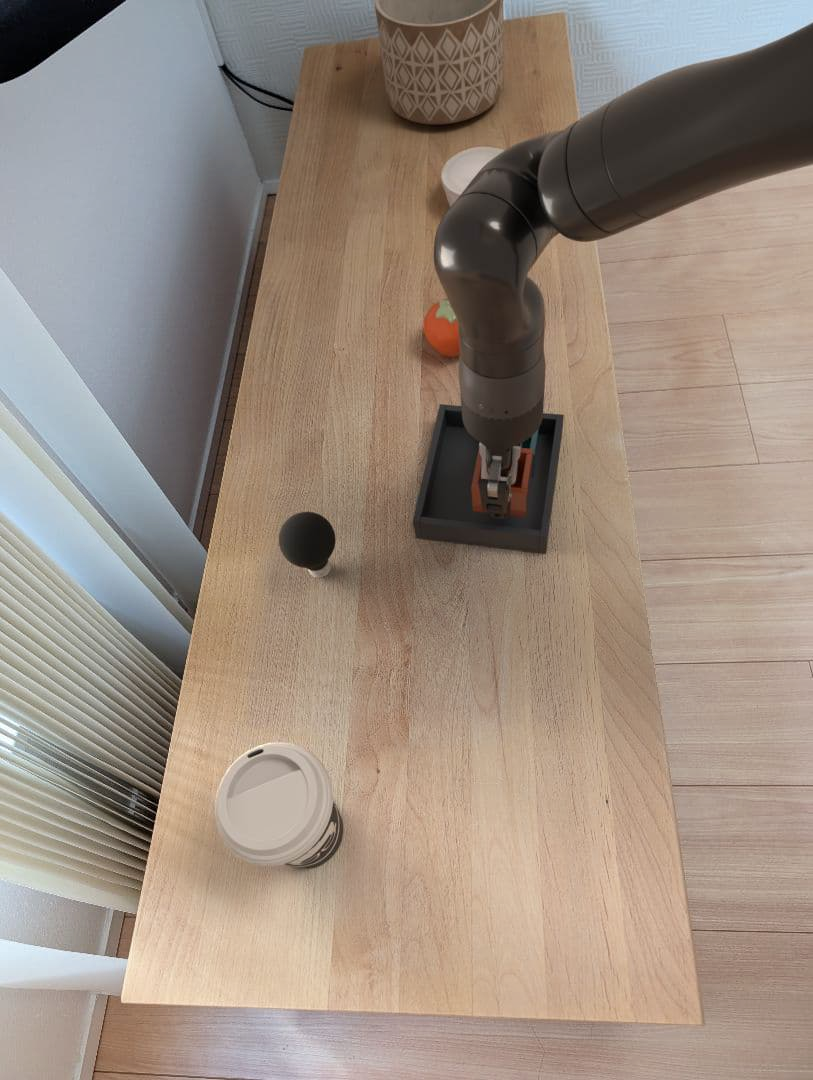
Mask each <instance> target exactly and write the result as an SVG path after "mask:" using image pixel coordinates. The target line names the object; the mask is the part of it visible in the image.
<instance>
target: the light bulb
mask: <svg viewBox="0 0 813 1080" xmlns="http://www.w3.org/2000/svg"><path fill="white" fill-rule="evenodd" d="M278 534H279V535H278V546H279V550H280V552H281V555H283V557H284V558H285V559H286V561H288V562H289V563H290V564H292V565H294V566H296V567H299V568H303V569H305V568H306V569H307V571H308V573H309V575H311V576H312V577H313V578H317V579H319V578H323V577H325V576H327V575H328V574H329V573H330V570H331V563H330V560H329V559H330V557H331V556H332V554H333V553H334V550H335V548H336V541H337V540H336V532H335V530H334V528H333V525H332V523H331V522H330V521H329V520H328V519H327V518H326V517H324V516H323V515H321V514H319V513H317V512H313V511H302V512H297V513H295V514H292V515H291V516H289V518H287V519H286V520H285V521H284V523H283V525H282V526H281V528H280V531H279V533H278Z"/></svg>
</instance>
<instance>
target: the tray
mask: <svg viewBox="0 0 813 1080" xmlns="http://www.w3.org/2000/svg"><path fill="white" fill-rule="evenodd" d="M436 414H437V415H436V419H435V423H434V427H433V432H432V435H431V441H430V444H429V445H430V446H429V448H428V454H427V458H426V461H425V467H424V469H423V473H422V474H423V475H422V480H421V483H420V486H419V487H420V488H419V491H418V497H417V499H416V503H415V504H416V505H415V509H414V513H413V519H412V525H413V531H414V535H415V538H416V539H420V540H428V541H437V542H444V543H445V542H446V543H455V544H462V545H470V546H476V547H477V546H479V547H487V548H494V549H505V550H510V551H511V550H512V551H520V552H528V553H535V554H536V553H537V554H543V555H545V554H547V550H548V544H549V543H548V542H549V535H550V527H551V520H552V512H553V506H554V505H553V504H554V499H555V498H554V497H555V490H556V483H557V475H558V467H559V460H560V453H561V446H562V445H561V444H562V438H563V429H564V420H565V419H564V418H565V414H562V413H561V414H560V413H548V412H543V419H542V422H541V425H540V436H539V445H538V451H537V457H536V464H535V470H534V476H533V478H531V485H530V491H529V498H528V505H527V511H526V517H522V516H513V515H509V517H507V518H505V519H503V518H494V517H491V516H490V515H489V514H488V513H486V512H477V511H473V502H472V489H471V487H472V482H473V477H474V471H475V466H476V461H477V456H478V451H479V446H480V442H479V441H477V440H476V439H475V438H473V437H472V436H471V435H470V434H469V432H468V431H467V430H466V428H465V426H464V423H463V419H462V408H461V405H455V404H454V405H453V404H442V403H439V405H438V410H437V413H436Z"/></svg>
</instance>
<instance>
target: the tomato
mask: <svg viewBox="0 0 813 1080" xmlns="http://www.w3.org/2000/svg"><path fill="white" fill-rule="evenodd" d="M423 332H424V335H425V338H426V340H427V342H428V344H429V345H430V347H431V348H432V349H433V350H434V351H435V352H437V353H438V354H440V355H441V356H443V357H448V358H456V357H459V356H460V345H459V332H458V319H457V317H456V315H455V313H454V311H453V309H452V307H451V305H450V303H449V300H448V298H444V299H441V300H439V301H437V302H436V303H434V304H433V305H431V306H430V307H429V308H428V310H427V312H426V314H425V316H424V317H423Z"/></svg>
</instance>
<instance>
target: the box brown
mask: <svg viewBox="0 0 813 1080" xmlns="http://www.w3.org/2000/svg"><path fill="white" fill-rule="evenodd" d="M479 451H480V446H479ZM479 451H478V456H477V461H476V466H475V471H474V477H473V482H472V487H471V489H472V502H473V511H477V512H486V513H488V511H483V510H482V507H481V505H482V504H481V497H480V491H479V487H478V485H479V482H480V480H481V467H482V457H481V455H480V453H479ZM511 465H512V463H511ZM511 465H510V467H508V468H506V469H501V470H505V471H509V470H511ZM532 465H533V449H527V448H522V449H521V454H520V458H519V459H518V469H517V477H516V481H515V483H514V484H511V493H512V498H510V514H509V515H513V516H522V517H526V511H527V505H528V498H529V491H530V485H531V478H532ZM489 468H490V467H489Z"/></svg>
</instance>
